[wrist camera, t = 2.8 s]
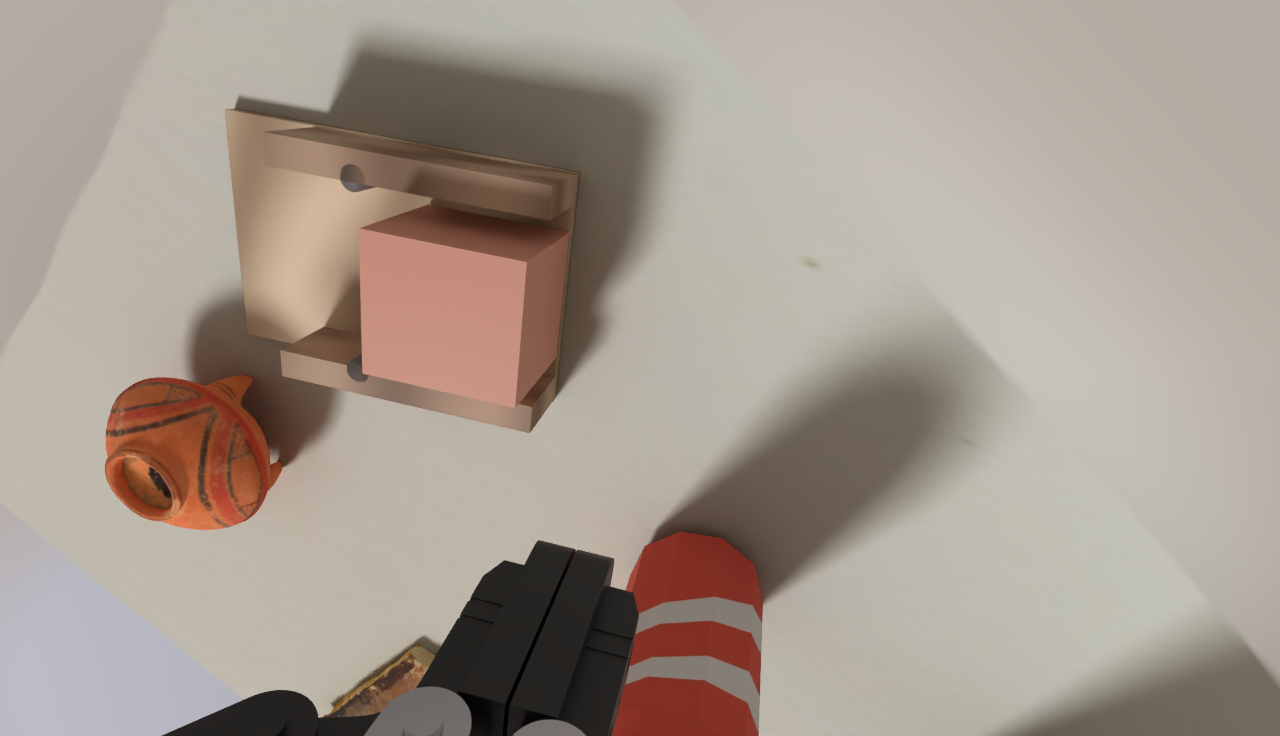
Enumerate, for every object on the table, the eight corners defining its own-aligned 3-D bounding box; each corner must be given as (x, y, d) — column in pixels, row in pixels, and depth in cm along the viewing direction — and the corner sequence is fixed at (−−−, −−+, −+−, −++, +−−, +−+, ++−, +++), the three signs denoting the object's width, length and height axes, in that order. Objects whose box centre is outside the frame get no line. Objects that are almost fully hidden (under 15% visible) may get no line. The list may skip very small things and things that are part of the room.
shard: (329, 705, 43) (311, 729, 41) (316, 613, 40) (296, 635, 38) (491, 744, 41) (479, 771, 40) (491, 651, 38) (478, 676, 37)
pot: (344, 436, 33) (233, 534, 28) (283, 486, 38) (178, 579, 33) (219, 313, 32) (75, 393, 26) (171, 382, 36) (40, 462, 31)
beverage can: (705, 647, 34) (671, 905, 24) (609, 571, 34) (529, 802, 23) (789, 583, 32) (795, 839, 21) (688, 500, 31) (640, 721, 20)
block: (569, 232, 27) (526, 262, 22) (556, 357, 29) (515, 408, 24) (428, 204, 27) (358, 228, 23) (425, 329, 30) (362, 373, 25)
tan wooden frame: (579, 172, 26) (552, 184, 23) (555, 397, 30) (529, 434, 27) (233, 108, 28) (164, 111, 25) (254, 330, 32) (197, 357, 29)
